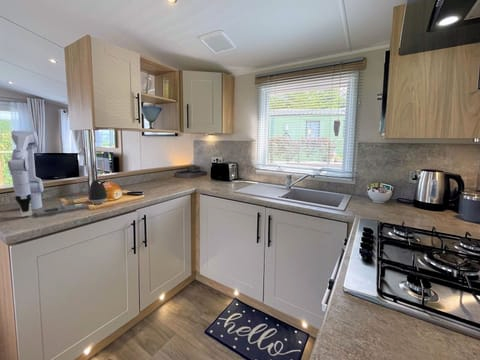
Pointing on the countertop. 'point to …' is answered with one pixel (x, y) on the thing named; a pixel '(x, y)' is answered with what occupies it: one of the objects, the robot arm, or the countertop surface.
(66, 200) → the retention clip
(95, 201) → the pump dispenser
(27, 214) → the plug
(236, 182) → the countertop surface
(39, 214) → the grey recessed block
